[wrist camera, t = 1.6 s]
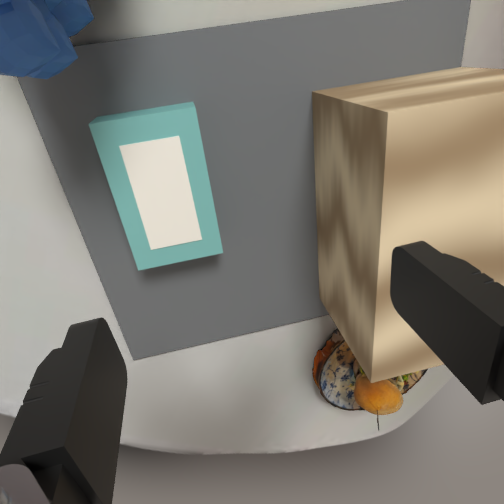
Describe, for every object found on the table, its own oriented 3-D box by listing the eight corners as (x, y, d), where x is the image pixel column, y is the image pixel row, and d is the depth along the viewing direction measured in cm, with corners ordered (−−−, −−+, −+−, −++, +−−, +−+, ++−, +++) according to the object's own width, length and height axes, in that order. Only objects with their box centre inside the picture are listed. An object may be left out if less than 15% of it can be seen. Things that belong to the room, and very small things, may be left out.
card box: (96, 117, 20) (88, 124, 18) (192, 101, 21) (195, 107, 19) (141, 252, 25) (138, 271, 23) (219, 236, 26) (223, 253, 23)
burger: (397, 395, 40) (440, 461, 33) (298, 399, 37) (324, 472, 30) (442, 308, 34) (504, 367, 28) (330, 304, 31) (371, 369, 25)
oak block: (311, 91, 22) (388, 112, 14) (460, 67, 23) (606, 74, 15) (319, 298, 30) (371, 383, 22) (429, 273, 31) (515, 345, 23)
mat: (10, 55, 19) (8, 55, 18) (468, -9, 21) (472, -9, 21) (133, 357, 30) (133, 360, 29) (424, 289, 32) (426, 291, 32)
